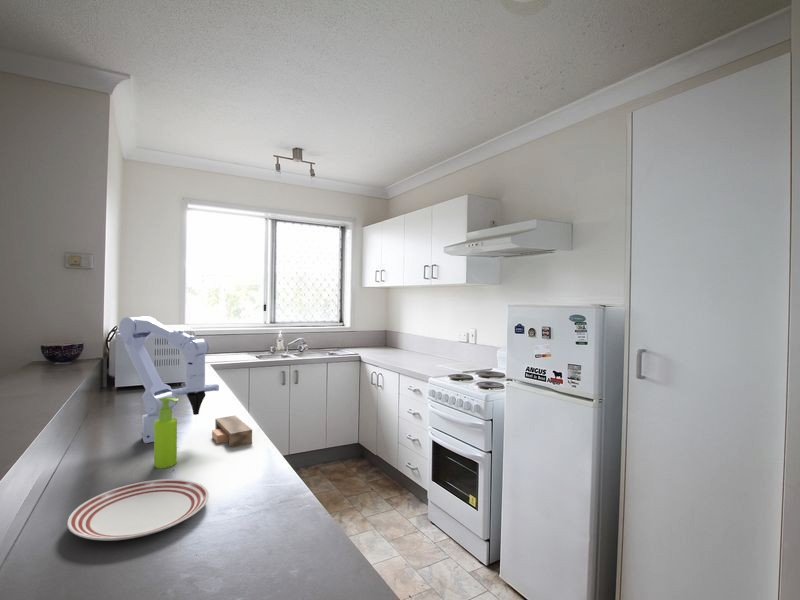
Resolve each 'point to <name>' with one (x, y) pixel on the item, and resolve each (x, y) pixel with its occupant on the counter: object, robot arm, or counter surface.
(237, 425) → the wooden bridge block
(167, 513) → the dinner plate
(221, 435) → the peach rectangular block
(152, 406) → the robot arm
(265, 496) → the counter surface
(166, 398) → the soap dispenser
